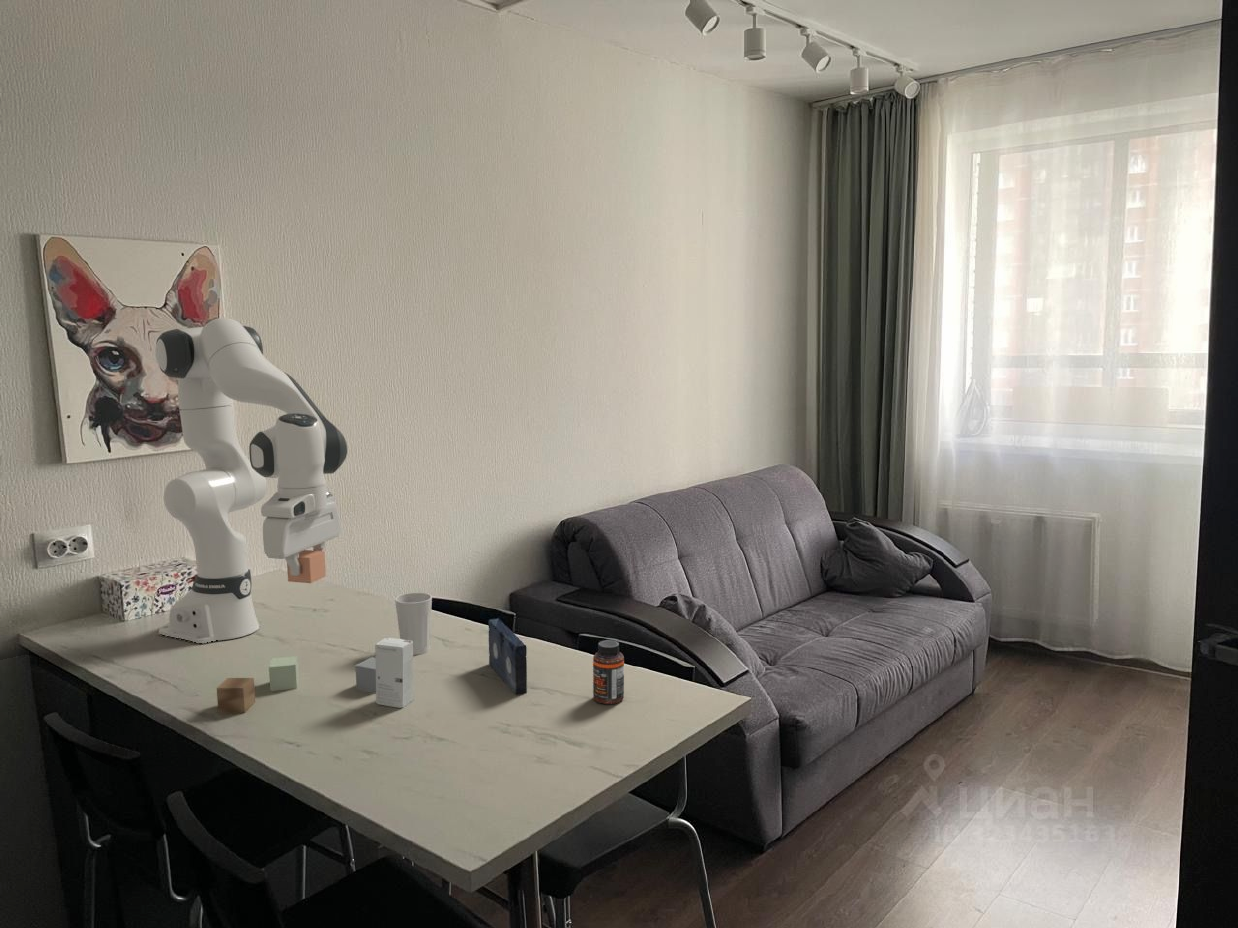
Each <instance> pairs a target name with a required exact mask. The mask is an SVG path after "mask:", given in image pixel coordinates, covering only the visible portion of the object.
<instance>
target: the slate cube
mask: <svg viewBox="0 0 1238 928" xmlns="http://www.w3.org/2000/svg"><path fill="white" fill-rule="evenodd" d="M355 680H356V681H355V682H356V686H355V687H356V690H359V691H364V692H365V691H366V692H370V693H374V694H376V657H373V656H371V657H369V658H367V659H365V660H364V661H361V662H359V663H358V664H356V665H355Z"/></svg>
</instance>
